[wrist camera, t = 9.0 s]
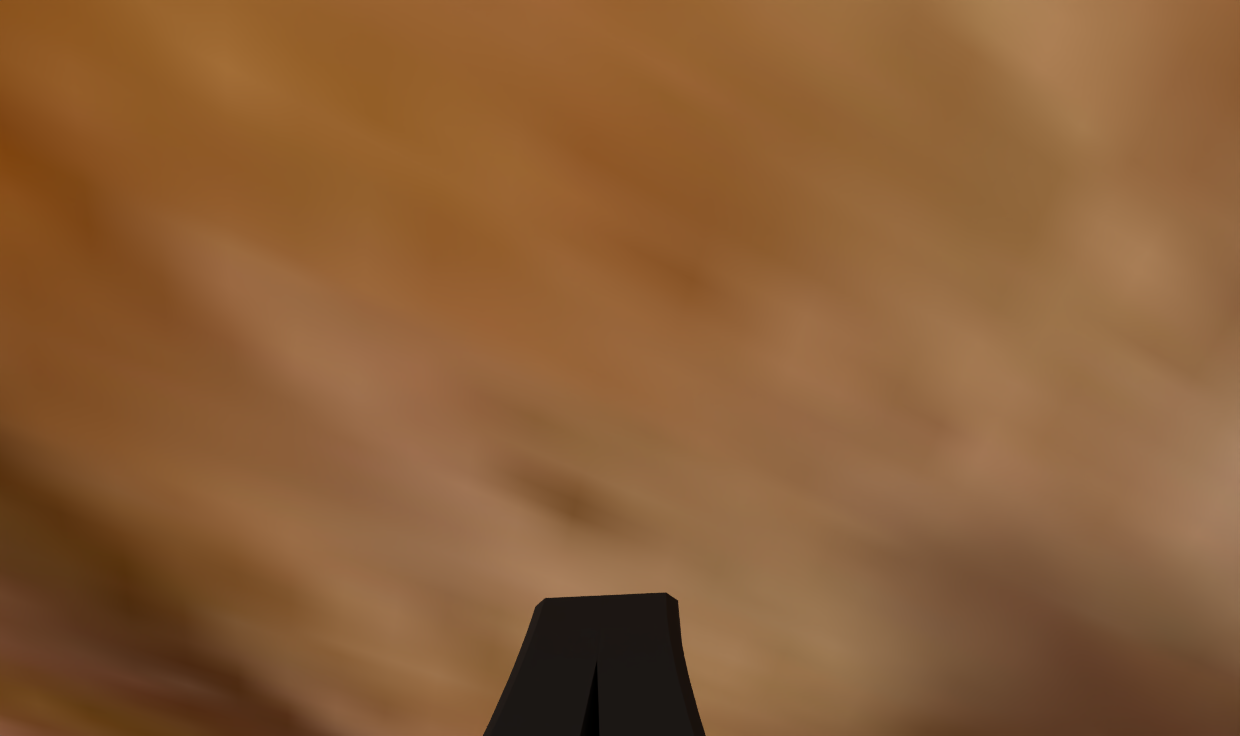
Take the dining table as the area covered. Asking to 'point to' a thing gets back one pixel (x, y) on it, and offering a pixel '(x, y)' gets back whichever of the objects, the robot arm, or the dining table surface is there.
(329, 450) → the dining table surface
